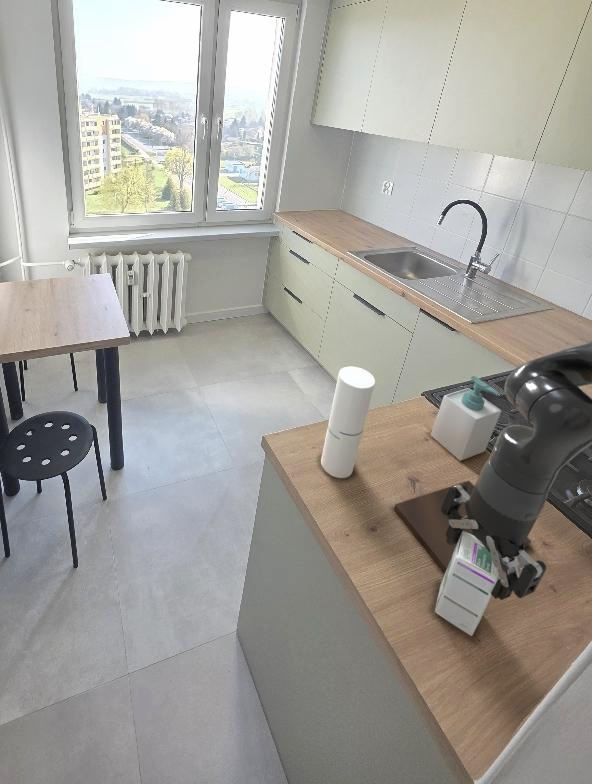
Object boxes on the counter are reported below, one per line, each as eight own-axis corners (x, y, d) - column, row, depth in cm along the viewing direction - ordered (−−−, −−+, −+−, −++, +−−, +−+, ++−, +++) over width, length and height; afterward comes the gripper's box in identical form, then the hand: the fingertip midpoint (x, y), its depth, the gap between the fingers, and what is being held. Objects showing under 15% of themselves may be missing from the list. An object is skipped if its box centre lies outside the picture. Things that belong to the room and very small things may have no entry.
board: (467, 485, 92) (468, 480, 92) (528, 546, 80) (531, 541, 80) (393, 509, 86) (395, 504, 86) (448, 578, 74) (450, 573, 74)
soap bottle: (460, 462, 98) (485, 398, 90) (430, 435, 106) (450, 374, 98) (485, 452, 101) (512, 389, 93) (454, 426, 109) (476, 366, 101)
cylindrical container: (350, 482, 92) (373, 392, 82) (318, 470, 94) (336, 381, 84) (354, 459, 98) (376, 372, 88) (324, 448, 100) (341, 362, 90)
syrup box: (472, 638, 66) (502, 582, 60) (432, 611, 69) (456, 556, 63) (477, 606, 70) (505, 551, 64) (438, 582, 73) (462, 528, 68)
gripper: (580, 534, 54) (535, 608, 60) (483, 450, 66) (454, 519, 73) (539, 551, 51) (497, 627, 58) (446, 460, 64) (420, 531, 70)
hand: (473, 567), depth 65 cm, fingers closed on syrup box, 7 cm apart
